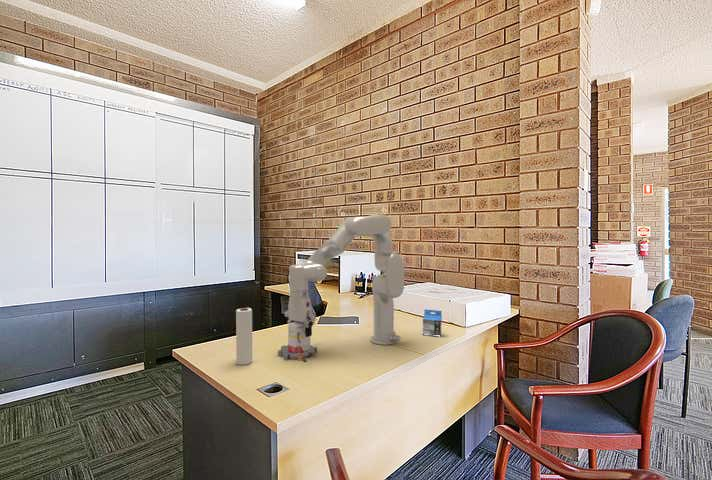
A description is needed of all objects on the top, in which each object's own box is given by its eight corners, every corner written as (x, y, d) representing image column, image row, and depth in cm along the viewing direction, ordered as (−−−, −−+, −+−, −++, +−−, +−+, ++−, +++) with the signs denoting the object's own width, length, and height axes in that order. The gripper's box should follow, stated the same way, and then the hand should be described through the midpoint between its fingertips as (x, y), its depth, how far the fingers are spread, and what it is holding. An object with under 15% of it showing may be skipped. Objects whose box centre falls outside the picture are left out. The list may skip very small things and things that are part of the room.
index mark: (302, 360, 145) (302, 359, 145) (305, 359, 145) (305, 359, 145) (304, 362, 143) (304, 361, 143) (307, 361, 143) (307, 361, 143)
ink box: (295, 354, 146) (295, 325, 145) (287, 351, 149) (287, 323, 149) (311, 349, 152) (311, 321, 152) (303, 346, 155) (303, 319, 155)
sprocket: (312, 345, 163) (312, 332, 163) (320, 358, 147) (320, 343, 147) (276, 349, 158) (276, 335, 158) (280, 362, 142) (280, 347, 142)
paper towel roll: (243, 366, 138) (243, 311, 137) (233, 363, 141) (232, 309, 141) (257, 360, 144) (257, 308, 144) (247, 357, 147) (247, 306, 147)
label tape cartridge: (422, 335, 179) (422, 310, 178) (423, 333, 182) (424, 309, 182) (440, 337, 175) (440, 312, 175) (441, 335, 179) (441, 310, 179)
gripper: (320, 294, 148) (321, 335, 149) (290, 290, 158) (292, 329, 159) (308, 297, 142) (309, 340, 143) (278, 293, 152) (279, 333, 153)
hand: (300, 334), depth 151 cm, fingers open, 9 cm apart
